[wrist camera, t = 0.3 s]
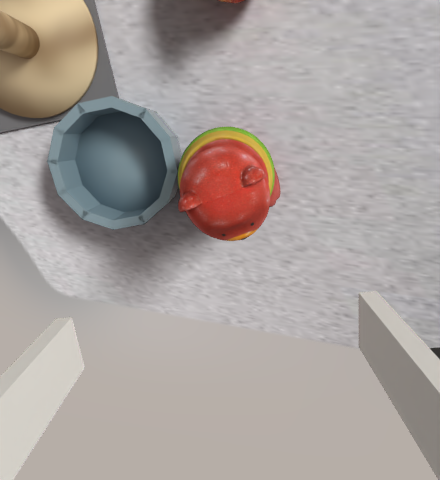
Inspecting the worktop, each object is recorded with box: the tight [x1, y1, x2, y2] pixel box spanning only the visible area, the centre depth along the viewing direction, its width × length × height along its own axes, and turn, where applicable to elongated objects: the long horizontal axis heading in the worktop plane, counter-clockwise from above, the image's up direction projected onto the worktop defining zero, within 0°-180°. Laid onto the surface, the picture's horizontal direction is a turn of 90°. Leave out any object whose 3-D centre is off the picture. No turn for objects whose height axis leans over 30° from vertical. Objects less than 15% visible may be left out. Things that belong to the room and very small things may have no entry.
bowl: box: [47, 96, 182, 230], centre depth 38 cm, size 13×13×5 cm
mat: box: [0, 0, 119, 133], centre depth 37 cm, size 16×16×1 cm
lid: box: [0, 0, 99, 118], centre depth 33 cm, size 15×15×9 cm
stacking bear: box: [178, 127, 280, 241], centre depth 32 cm, size 11×10×18 cm
